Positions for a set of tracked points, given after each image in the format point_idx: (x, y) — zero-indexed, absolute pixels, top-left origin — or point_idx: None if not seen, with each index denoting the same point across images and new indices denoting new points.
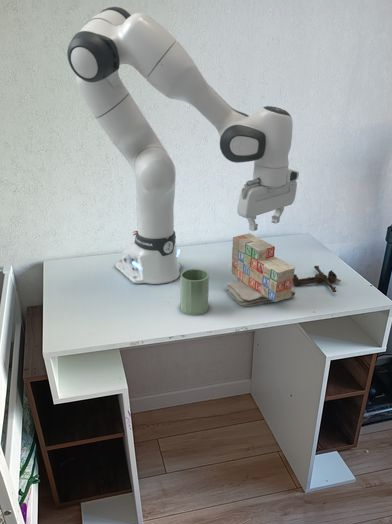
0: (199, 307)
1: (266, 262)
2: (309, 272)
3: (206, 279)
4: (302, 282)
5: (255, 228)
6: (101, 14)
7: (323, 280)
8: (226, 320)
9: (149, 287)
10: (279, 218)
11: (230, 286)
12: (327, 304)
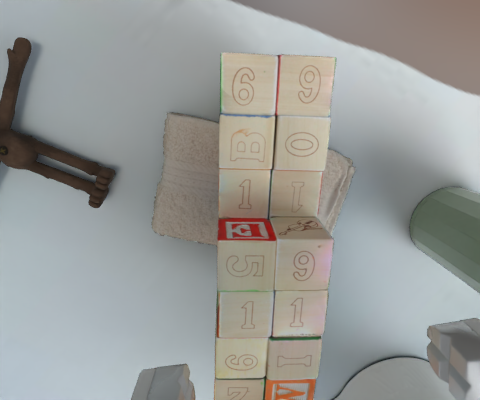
0: (478, 193)
1: (296, 184)
2: (10, 221)
3: None
4: (89, 164)
5: (470, 331)
6: None
7: (11, 132)
8: (429, 120)
9: None
10: (137, 398)
11: None
12: (97, 12)
